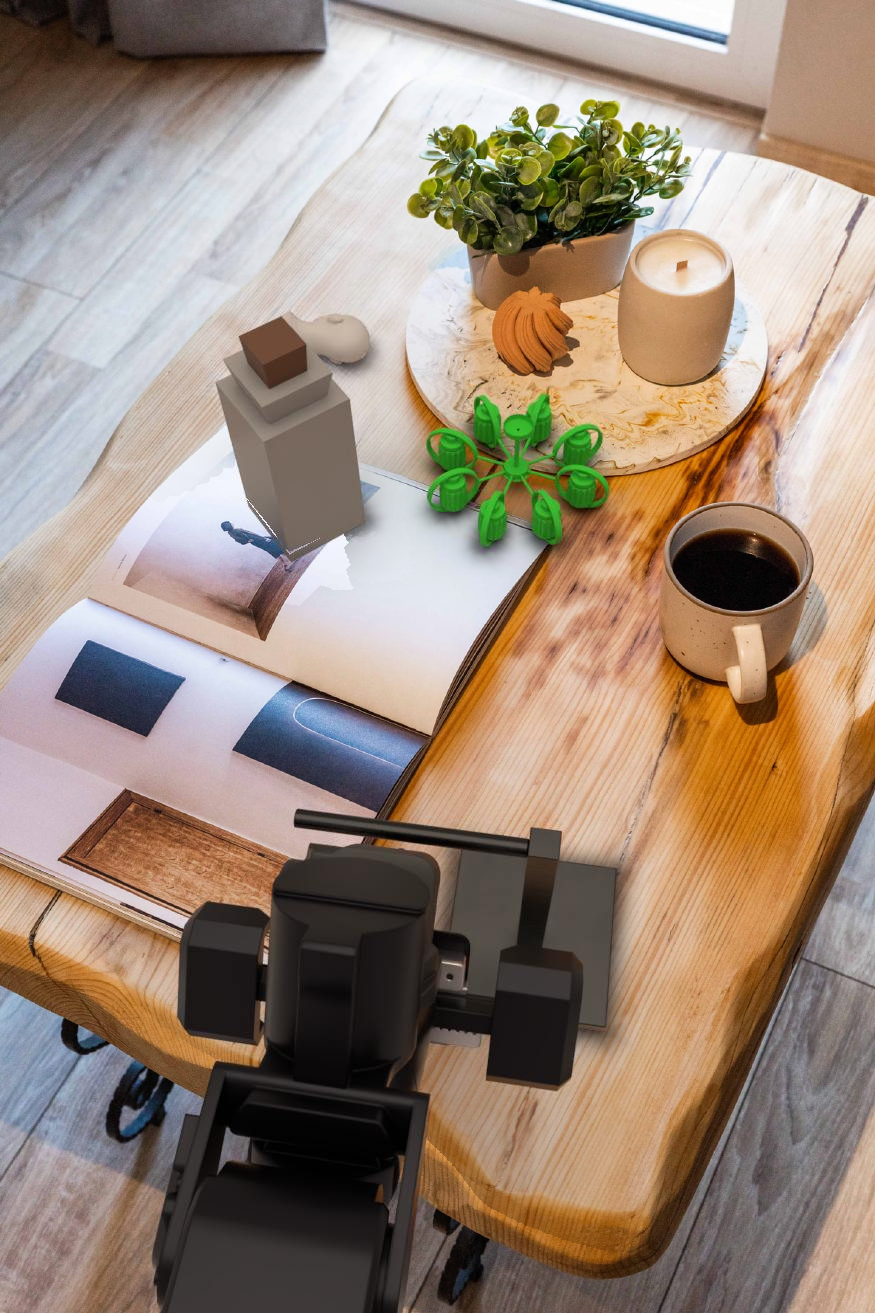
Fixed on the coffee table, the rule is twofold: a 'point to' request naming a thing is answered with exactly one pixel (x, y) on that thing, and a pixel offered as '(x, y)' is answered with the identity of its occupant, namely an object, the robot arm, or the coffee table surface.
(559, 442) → the chandelier
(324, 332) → the beige rounded piece
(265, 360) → the perfume bottle
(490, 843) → the hook stand
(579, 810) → the coffee table surface
